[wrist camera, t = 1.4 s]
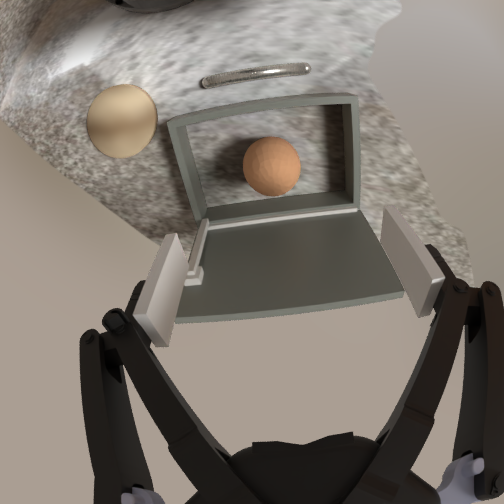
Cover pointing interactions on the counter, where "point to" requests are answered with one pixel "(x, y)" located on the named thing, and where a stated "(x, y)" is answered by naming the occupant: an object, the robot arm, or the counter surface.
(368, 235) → the grey hinged box
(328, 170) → the counter surface
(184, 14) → the counter surface
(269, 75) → the rod
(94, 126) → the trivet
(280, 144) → the egg
